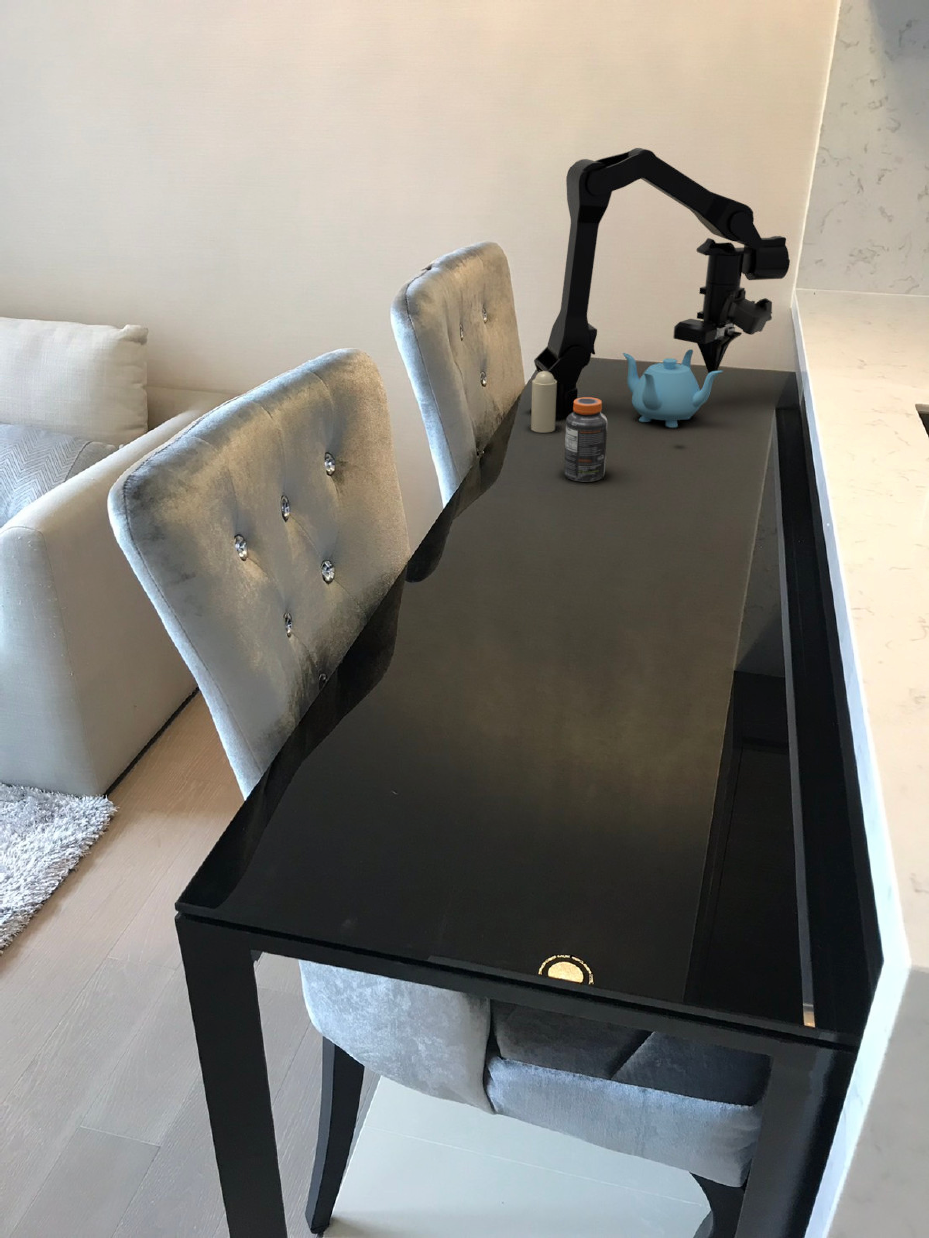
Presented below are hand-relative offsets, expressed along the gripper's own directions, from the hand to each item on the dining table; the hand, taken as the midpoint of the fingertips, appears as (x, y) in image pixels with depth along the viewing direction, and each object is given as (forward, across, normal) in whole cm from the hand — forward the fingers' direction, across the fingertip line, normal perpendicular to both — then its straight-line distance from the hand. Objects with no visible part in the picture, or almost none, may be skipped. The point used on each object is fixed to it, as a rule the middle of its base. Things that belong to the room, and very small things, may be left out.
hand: (712, 373), depth 175 cm
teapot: (+5, -14, 0) cm, 15 cm away
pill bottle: (+5, -44, -6) cm, 44 cm away
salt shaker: (+5, -32, +12) cm, 34 cm away
